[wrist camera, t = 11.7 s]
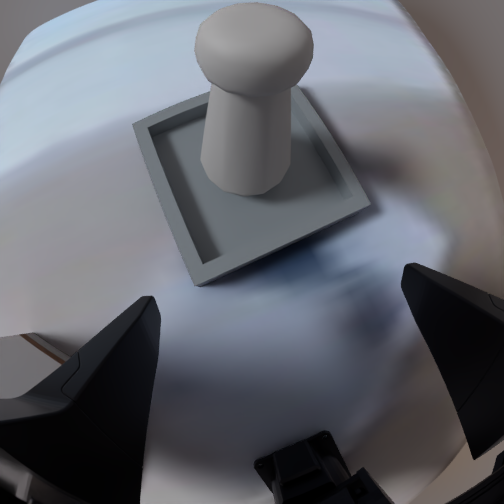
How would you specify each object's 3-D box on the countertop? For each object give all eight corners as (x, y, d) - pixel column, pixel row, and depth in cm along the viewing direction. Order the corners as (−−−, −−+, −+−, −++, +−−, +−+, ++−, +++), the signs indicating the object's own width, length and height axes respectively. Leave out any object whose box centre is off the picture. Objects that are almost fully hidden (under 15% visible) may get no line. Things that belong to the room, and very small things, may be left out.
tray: (357, 213, 21) (370, 204, 18) (200, 286, 20) (194, 286, 17) (281, 87, 22) (285, 69, 20) (141, 139, 21) (132, 124, 19)
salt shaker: (194, 150, 20) (155, 6, 7) (264, 125, 21) (289, -19, 8) (222, 219, 19) (200, 96, 6) (298, 189, 20) (372, 61, 7)
